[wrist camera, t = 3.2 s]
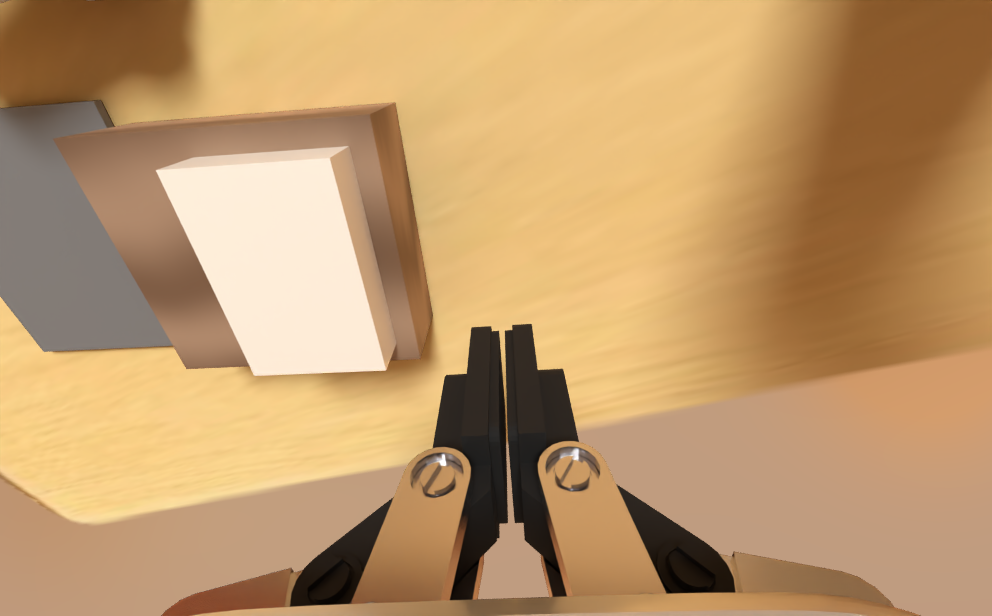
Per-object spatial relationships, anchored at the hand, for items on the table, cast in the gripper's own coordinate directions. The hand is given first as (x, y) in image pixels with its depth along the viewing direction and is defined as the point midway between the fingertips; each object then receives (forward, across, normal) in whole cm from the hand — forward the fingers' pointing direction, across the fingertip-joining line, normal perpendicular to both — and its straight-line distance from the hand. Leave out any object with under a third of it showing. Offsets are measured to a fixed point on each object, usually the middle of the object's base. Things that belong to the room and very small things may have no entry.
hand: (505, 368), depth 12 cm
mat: (+11, +23, -1) cm, 26 cm away
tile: (+7, +8, -1) cm, 11 cm away
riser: (+11, +10, -1) cm, 15 cm away
